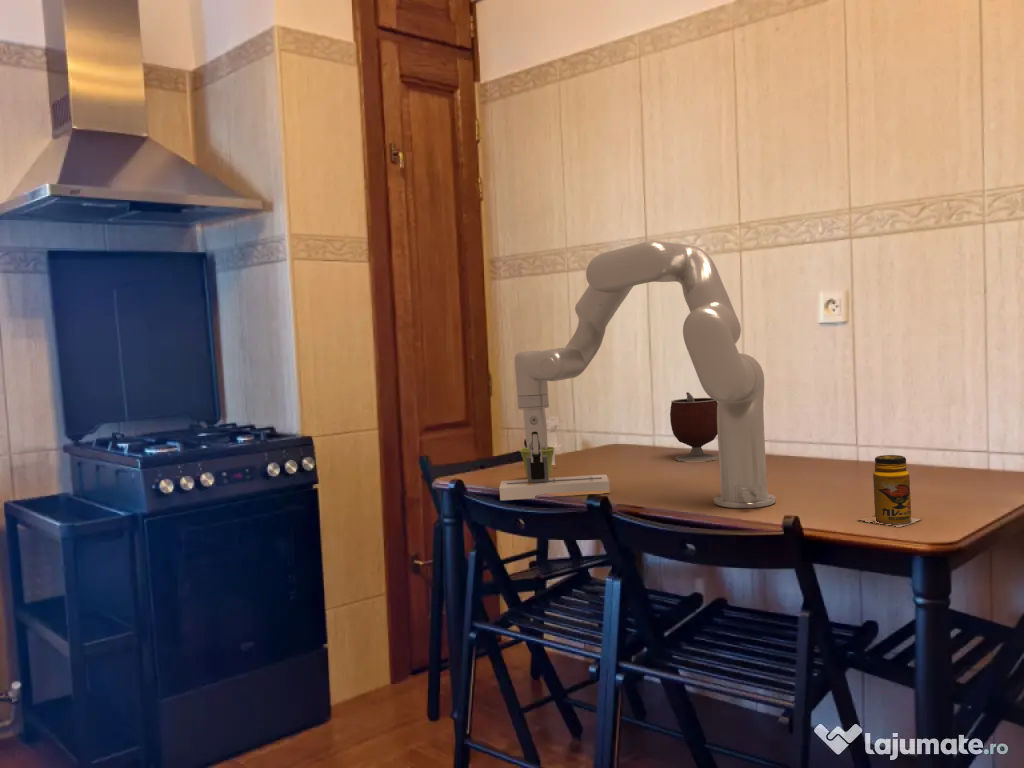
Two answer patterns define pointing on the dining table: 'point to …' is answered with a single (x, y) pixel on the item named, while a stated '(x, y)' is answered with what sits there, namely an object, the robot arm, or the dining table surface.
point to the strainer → (553, 435)
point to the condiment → (892, 491)
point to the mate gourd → (694, 425)
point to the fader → (546, 479)
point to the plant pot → (548, 452)
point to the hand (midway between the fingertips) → (538, 477)
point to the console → (552, 486)
